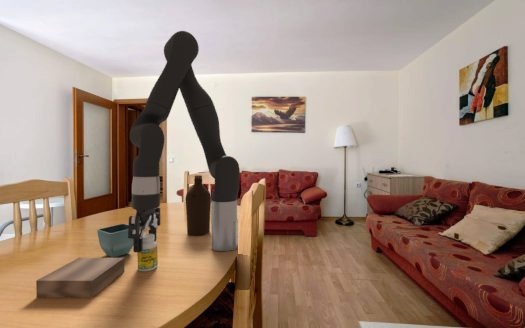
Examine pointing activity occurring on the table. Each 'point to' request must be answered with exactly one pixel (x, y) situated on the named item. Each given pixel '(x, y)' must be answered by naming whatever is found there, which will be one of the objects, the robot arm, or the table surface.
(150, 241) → the supplement bottle
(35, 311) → the table surface
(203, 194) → the olive oil
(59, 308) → the table surface
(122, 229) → the flower pot
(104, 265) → the walnut plinth
